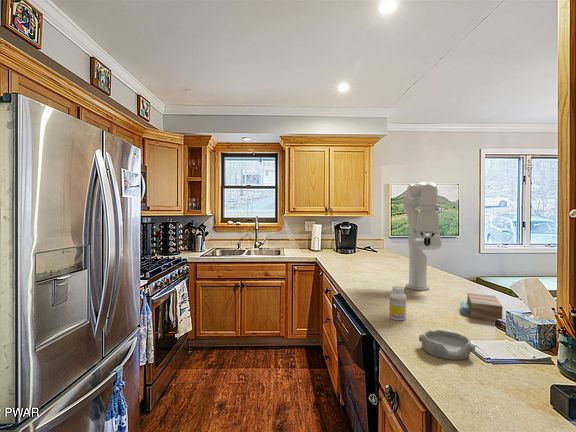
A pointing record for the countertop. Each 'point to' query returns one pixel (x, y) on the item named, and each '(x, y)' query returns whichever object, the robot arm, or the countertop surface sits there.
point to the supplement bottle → (397, 304)
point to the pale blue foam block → (465, 307)
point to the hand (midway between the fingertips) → (427, 246)
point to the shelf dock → (484, 307)
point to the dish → (446, 344)
